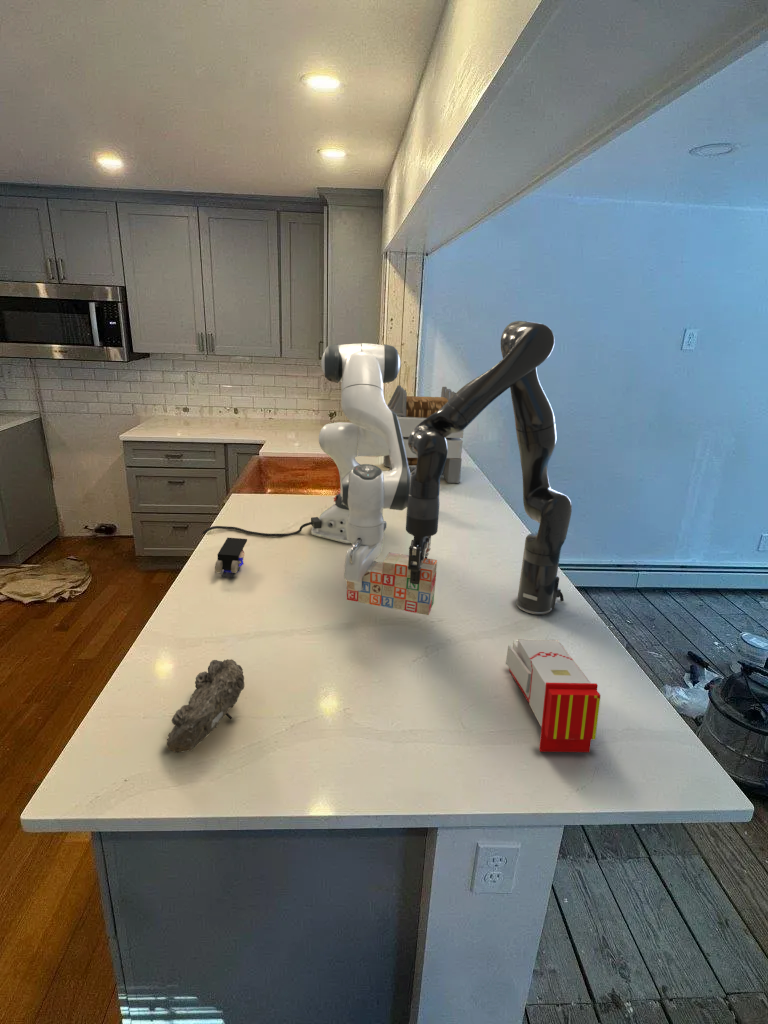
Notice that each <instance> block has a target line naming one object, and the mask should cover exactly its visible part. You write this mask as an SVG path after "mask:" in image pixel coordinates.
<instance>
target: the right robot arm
mask: <svg viewBox="0 0 768 1024" xmlns="http://www.w3.org/2000/svg"><path fill="white" fill-rule="evenodd" d="M555 342H556V341H555V334H554V332H553V330H552V329H551V328H550V327H549V326H548V325H546V324H544V323H541V322H535V321H527V320H514V321H512V322H510V323H509V324H508V325H506V326H505V328H504V330H503V331H502V334H501V336H500V353H501V356H502V359H501V360H500V361H499V362H498V363H496V364H495V365H494V366H493V367H491V368H489V369H488V370H486V371H485V372H483V373H482V374H480V375H479V376H476V377H475V378H474V379H472V380H471V381H469V382H467V383H466V384H465V385H463V386H462V387H461V388H460V389H458V390H457V392H455V393H456V394H455V395H454V396H453V397H452V398H451V399H450V400H449V401H448V402H447V403H446V404H445V405H444V406H443V407H442V408H441V409H440V410H438V411H437V412H435V413H433V414H432V415H431V416H429V417H428V418H426V419H425V420H423V421H422V422H421V423H420V424H418V425H417V426H416V427H415V428H414V429H413V431H412V432H411V434H410V436H409V439H408V446H409V448H410V450H411V451H412V452H413V453H414V454H415V455H417V456H418V460H417V466H416V467H415V468H414V469H413V470H412V471H410V473H411V475H410V484H409V497H408V502H407V507H406V515H405V531H406V532H407V534H409V535H411V536H412V537H413V538H412V539H411V541H410V545H409V547H408V550H409V551H408V555H409V563H408V570H411V574H410V583H412V584H419V582H420V571H421V565H422V561H424V560H425V558H427V559H428V557H429V554H430V551H431V543H432V542H431V541H432V536H436V534H437V533H438V531H439V530H438V528H439V517H440V490H441V489H440V488H441V478H442V475H443V474H442V472H443V469H444V466H445V462H446V458H447V453H448V446H447V441H446V437H447V436H448V435H450V434H451V433H458V432H461V431H462V430H464V431H465V429H466V428H467V427H468V426H469V425H470V424H471V423H472V422H473V421H475V419H476V418H477V417H478V416H479V415H481V413H482V412H483V411H484V410H485V409H486V408H487V407H488V406H489V405H490V404H492V403H493V402H494V401H495V400H496V399H497V398H498V397H500V396H501V395H502V394H503V393H504V392H506V391H507V390H508V389H510V398H511V404H512V409H513V415H514V427H515V433H516V439H517V440H516V441H517V445H518V451H519V457H520V459H519V461H520V466H521V473H522V474H521V475H522V500H523V508H524V511H525V514H526V515H527V517H529V518H530V519H531V520H532V521H535V522H537V523H538V524H539V525H538V531H537V532H531V533H529V534H527V536H526V537H525V540H524V548H523V555H522V561H521V562H522V563H521V568H520V569H521V570H520V577H519V583H518V591H517V598H516V601H515V603H516V606H517V608H518V609H519V610H521V611H523V612H525V613H527V614H529V615H530V614H531V615H538V616H542V615H547V614H549V613H551V612H552V610H555V608H556V603H557V599H559V600H560V602H564V601H565V600H564V594H563V592H562V590H561V588H559V583H560V577H559V576H558V570H559V564H560V559H561V552H562V547H563V545H564V543H565V542H566V539H567V536H568V531H569V526H570V522H571V517H572V511H573V505H572V501H571V499H570V497H569V496H568V495H566V494H564V493H563V492H559V491H558V490H555V489H553V488H552V487H551V484H550V480H549V472H548V467H549V462H550V460H551V458H552V456H553V453H554V451H555V449H556V445H557V440H558V439H557V438H558V437H557V436H558V435H557V425H556V417H555V414H554V410H553V407H552V405H551V403H550V400H549V399H548V397H547V395H546V393H545V390H543V389H544V388H543V387H542V385H541V381H540V380H539V376H538V375H539V374H538V371H537V368H538V367H539V366H540V365H542V364H543V363H544V362H545V361H546V360H547V359H548V358H549V357H550V356H551V354H552V352H553V350H554V347H555ZM414 562H417V565H415V564H413V563H414Z"/></svg>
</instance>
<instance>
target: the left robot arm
mask: <svg viewBox="0 0 768 1024" xmlns="http://www.w3.org/2000/svg"><path fill="white" fill-rule="evenodd" d="M321 356H322V357H321V363H320V364H321V370H322V373H323V374H324V377H325V379H326V380H327V381H329V382H331V383H335V384H339V383H341V385H340V386H341V387H340V388H341V392H340V394H341V395H340V397H341V398H340V399H341V400H340V405H341V410H342V412H343V414H344V415H345V417H346V419H347V420H348V421H349V422H343V421H337V422H331V423H326V424H324V425H323V426H322V427H321V429H320V431H319V433H318V444H319V447H320V449H321V450H322V451H323V453H324V454H325V455H327V456H329V458H330V459H332V461H333V462H334V464H335V465H336V467H337V470H338V474H339V483H340V484H339V485H340V488H339V489H340V490H339V491H338V492H337V494H336V495H335V496H334V497H333V502H334V504H333V505H331V506H329V507H328V508H326V509H325V510H323V512H321V514H320V515H319V516H312V517H310V521H309V522H306V523H303V524H302V525H301V526H299V529H298V530H296V531H294V532H290V533H289V532H288V533H266V532H265V533H264V532H257V531H251V530H247V529H243V528H240V527H237V526H228V525H227V526H226V525H224V526H223V525H213V526H210V527H208V528H207V527H206V529H204V530H203V531H202V533H201V534H202V535H205V534H206V533H208V532H209V531H212V530H218V529H220V530H234V531H238V532H241V533H245V534H249V535H254V536H255V535H256V536H261V537H289V536H293V535H294V536H295V535H298V534H300V533H301V532H302V531H303V529H304V528H305V527H308V526H312V528H311V530H310V533H311V536H315V537H319V538H323V539H326V540H330V541H336V542H339V543H343V544H351V546H350V547H349V548H348V549H347V551H346V554H345V560H344V570H343V571H344V573H343V577H344V579H345V581H346V582H347V581H349V582H354V589H355V590H357V591H361V590H362V588H363V582H362V578H363V576H364V574H365V573H366V572H367V570H368V569H369V567H370V566H371V564H372V563H373V562H374V561H376V560H377V558H378V557H379V556H380V554H381V553H382V550H383V546H384V539H385V531H386V529H387V526H388V525H387V521H386V520H385V519H384V515H383V512H384V511H383V510H384V509H387V510H388V509H389V510H393V511H403V510H405V509H407V502H408V497H409V484H410V475H411V470H410V466H409V465H408V461H407V456H406V451H405V446H404V442H403V437H402V433H401V428H400V424H399V421H398V418H397V415H396V414H395V412H393V411H391V410H390V409H389V408H388V406H387V405H388V404H387V402H386V399H385V396H384V384H387V383H391V382H394V381H395V380H396V379H398V374H399V372H400V369H401V357H400V355H399V352H398V350H397V348H396V347H395V346H393V345H390V344H379V343H378V344H377V343H367V342H361V343H347V344H346V343H345V344H339V343H336V344H329V345H328V346H326V348H325V349H324V352H323V354H322V355H321ZM387 455H390V460H391V465H392V470H391V471H390V470H382V469H381V467H379V466H377V465H374V464H370V463H364V464H363V463H359V462H358V461H357V460H356V459H357V457H364V458H365V457H367V458H379V457H384V456H387Z"/></svg>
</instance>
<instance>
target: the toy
mask: <svg viewBox="0 0 768 1024" xmlns="http://www.w3.org/2000/svg"><path fill="white" fill-rule="evenodd" d="M505 659H506V660H505V665H506V666H507V667H508V671H509V673H510V674H511V676H512V678H513V679H514V681H515V682H516V685H517V686H518V688H519V690H520V691H521V692H522V694H523V697H525V699H526V701H527V703H529V707H530V709H531V711H532V712H533V714H534V716H535V718H536V720H537V722H538V724H539V726H540V728H541V729H540V739H539V748H538V751H539V752H540V753H543V752H544V753H590V752H591V744H592V743H591V742H592V740H596V736H597V727H598V720H599V719H598V718H599V710H600V704H601V703H600V702H601V696H602V695H601V694H600V693H599V692H598V687H599V686H598V683H595V682H594V683H592V682H591V681H590V679H589V678H588V677H587V676H586V674H585V673H584V671H583V670H582V669H581V668H580V666H579V665H578V664H577V663H576V662H575V661H576V660H574V659H573V658H572V656H571V655H570V653H568V651H567V650H566V648H565V647H564V645H563V644H562V643H561V642H560V641H559V639H529V638H528V639H524V638H521V639H517V640H512V645H511V644H510V645H509V644H508V646H507V653H506V658H505Z"/></svg>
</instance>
